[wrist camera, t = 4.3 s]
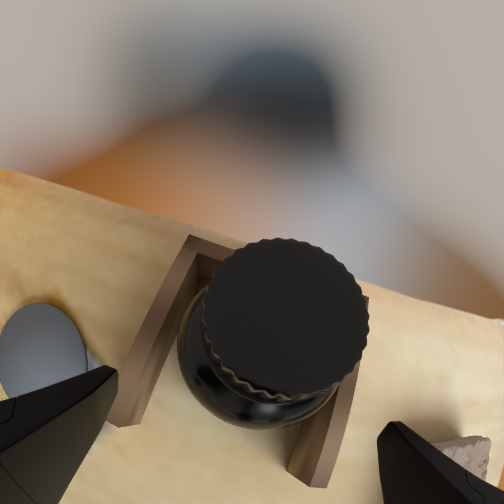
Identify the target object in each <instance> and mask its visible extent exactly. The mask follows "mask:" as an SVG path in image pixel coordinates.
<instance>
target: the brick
mask: <svg viewBox="0 0 504 504" xmlns="http://www.w3.org/2000/svg"><path fill="white" fill-rule="evenodd" d="M430 444H431V445H433V446H434V447H435V448H437V449H438V450H440V451H441V452H442V453H444V454H445V455H447V456H448V457H449V458H451V459H452V460H454V461H455V462H456V463H458V464H459V465H461V466H462V467H464V469H467V470H468V471H469V472H471V473H472V474H474V475H475V476H477V477H479V478H480V479H482V480H484V481H485V480H486V475H487V465H488V463H489V451H490V448H491V441H490V439H489V438H483V437H482V436H468V437H462V438H458V439H457V438H453V439H451V440H448V441H443V442H438V443H436V442H435V443H430Z"/></svg>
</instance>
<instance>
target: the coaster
mask: <svg viewBox="0 0 504 504" xmlns="http://www.w3.org/2000/svg"><path fill="white" fill-rule="evenodd" d="M87 370H88V363H87V353H86V348H85V344H84V341H83V339H82V336H81V334H80V332H79V330H78V328H77V327H76V325H75V324H74V323H73V321H72V320H71V319H70V318H69V317H68V316H67V315H66V314H64V313H63V312H62V311H61V310H59V309H58V308H56V307H54V306H52V305H48V304H44V303H35V304H30V305H27V306H25V307H23V308H21V309H20V310H18V311H17V312H16V313H15V314H14V315H12V316H11V318H10V319H9V320H8V322H7V323H6V325H5V326H4V329H3V331H2V333H1V336H0V381H1V384H2V386H3V389H4V391H5V393H6V394H7V396H8V398H9V399H10V398H13V397H17V396H19V395H22V394H25V393H29V392H32V391H35V390H38V389H40V388H43V387H46V386H49V385H52V384H55V383H58V382H61V381H63V380H66V379H69V378H72V377H74V376H77V375H80V374H82V373H85V372H87Z"/></svg>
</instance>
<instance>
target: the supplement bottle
mask: <svg viewBox="0 0 504 504" xmlns="http://www.w3.org/2000/svg"><path fill="white" fill-rule="evenodd" d="M366 305H367V303H366V300H365V298H364V297H363V295H362V290H361V287H360V286H359V285H358V284H357V283H356V281H355V278H354V276H353V275H352V274H351V273H350V272H348V271H347V269H346V268H345V266H344V264H342V263H340V262H338V261H337V260H336V259H335V257H334V256H333V255H331V254H329V253H326V252H324V251H323V250H322V249H321V248H320V247H315V246H312V245H310V244H309V243H307V242H299V241H297V240H294V239H286V240H285V239H281V238H274V239H272V240H268V239H262V240H260V241H259V242H257V243H249V244H247V245H246V246H245V247H244V248H240V249H237V250H235V252H234V253H233V255H232V256H229V257H227V258H225V259H224V261H223V263H222V266H220V267H219V268H217V269H216V270H215V271H214V274H213V279H212V280H211V281H210V282H209V283H208V284H207V285H206V286H205V287H204V288H203V289H202V290H201V291H200V292H199V293H198V294H197V295H196V296H195V297H194V299H193V300H192V301H191V303H190V304H189V306H188V308H187V309H186V311H185V314H184V316H183V318H182V321H181V324H180V328H179V332H178V340H177V352H178V360H179V365H180V369H181V372H182V375H183V378H184V380H185V382H186V384H187V386H188V388H189V389H190V391H191V393H192V394H193V395H194V397H195V398H196V399H197V400H198V401H199V403H200V404H201V405H202V406H203V407H204V408H206V409H207V410H208V411H209V412H210V413H212V414H214V415H215V416H216V417H218V418H220V419H221V420H223V421H225V422H228V423H230V424H232V425H236V426H239V427H242V428H247V429H255V430H272V429H280V428H284V427H288V426H291V425H294V424H297V423H299V422H301V421H303V420H305V419H307V418H308V417H310V416H312V415H313V414H314V413H316V412H317V411H318V410H319V409H321V408H322V407H323V406H324V405H325V404H326V403H327V401H328V400H329V399H330V398H331V396H332V395H333V394H334V392H335V390H336V389H337V387H338V385H339V384H340V383H341V382H342V381H343V379H344V377H345V376H347V375H349V374H351V373H352V372H353V370H354V367H355V364H356V363H358V362H359V361H360V360H361V358H362V351H363V350H364V348H365V347H366V346H367V335H368V333H369V325H368V320H369V314H368V311H367V309H366Z"/></svg>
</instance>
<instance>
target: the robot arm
mask: <svg viewBox="0 0 504 504" xmlns="http://www.w3.org/2000/svg"><path fill="white" fill-rule="evenodd" d="M117 393H118V371H117V370H116V369H115V368H112V367H110V366H108V365H103V366H101V367H98V368H96V369H93V370H90V371H88V372H85V373H82V374H80V375H77V376H74V377H72V378H69V379H66V380H63V381H61V382H58V383H55V384H52V385H49V386H46V387H43V388H40V389H38V390H35V391H32V392H29V393H25V394H22V395H19V396H17V397H13V398H10V399H6V400H3V401H0V504H58V503H59V502H60V500H61V498H62V496H63V494H64V493H65V491H66V489H67V487H68V485H69V484H70V482H71V480H72V478H73V477H74V475H75V473H76V472H77V470H78V468H79V466H80V465H81V463H82V461H83V460H84V458H85V456H86V455H87V453H88V451H89V450H90V448H91V446H92V445H93V443H94V441H95V440H96V438H97V436H98V435H99V433H100V431H101V429H102V427H103V425H104V423H105V420H106V418H107V416H108V413H109V411H110V409H111V407H112V405H113V402H114V400H115V398H116V396H117ZM377 449H378V461H379V474H380V481H381V487H382V493H383V499H384V504H504V491H502V490H501V489H499V488H497V487H495V486H493V485H491V484H489V483H487V482H485V481H484V480H482V479H480V478H479V477H477V476H475V475H474V474H472V473H471V472H469V471H468V470H467V469H464V467H462V466H461V465H459V464H458V463H456V462H455V461H454V460H452V459H451V458H449V457H448V456H447V455H445V454H444V453H442V452H441V451H440V450H438V449H437V448H435V447H434V446H433V445H431V444H430V443H429V442H427V441H426V440H425V439H423V438H422V437H421V436H419V435H418V434H417V433H415V432H414V431H413V430H411V429H410V428H409V427H407V426H406V425H405V424H403V423H402V422H400V421H391V422H389V423H388V424H387V425H386V427H385V428H384V429H383V431H382V432H381V433H380V435H379V436H378V438H377Z"/></svg>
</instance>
